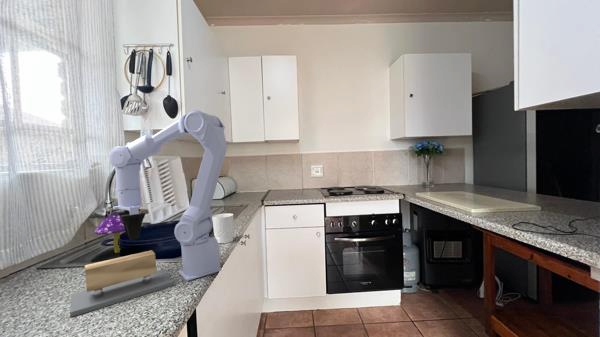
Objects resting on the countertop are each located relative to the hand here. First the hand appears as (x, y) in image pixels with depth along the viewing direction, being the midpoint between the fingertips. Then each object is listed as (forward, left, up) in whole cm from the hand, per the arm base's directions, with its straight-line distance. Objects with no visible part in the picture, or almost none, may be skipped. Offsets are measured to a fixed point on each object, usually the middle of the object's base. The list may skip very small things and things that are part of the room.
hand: (132, 236), depth 79 cm
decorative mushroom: (+2, -26, -11) cm, 28 cm away
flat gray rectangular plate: (+4, +12, -10) cm, 16 cm away
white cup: (-31, -9, -11) cm, 34 cm away
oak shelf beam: (+4, +12, -7) cm, 15 cm away
